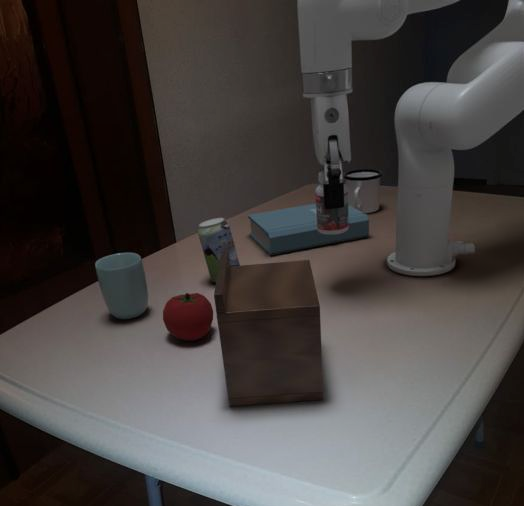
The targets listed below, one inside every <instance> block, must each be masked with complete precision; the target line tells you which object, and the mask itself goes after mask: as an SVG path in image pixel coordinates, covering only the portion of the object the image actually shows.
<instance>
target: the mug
mask: <svg viewBox="0 0 524 506" xmlns="http://www.w3.org/2000/svg"><path fill="white" fill-rule="evenodd" d="M381 177H383V172H382V171H381V170H379V169H373V168H362V169H353V170H349V171H346V172H343V179H345V185H346V186H347V188H348V205H349V206H351V207H353V208H355V209H357V210H359V211H361V212H363V213H364V214H366V215H368V214H372V213H375V212H377V211H378V210H380V191H381V190H380V189H381V188H380V187H381V185H380V184H381Z"/></svg>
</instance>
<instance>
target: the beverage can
mask: <svg viewBox="0 0 524 506" xmlns="http://www.w3.org/2000/svg"><path fill="white" fill-rule="evenodd" d="M197 235H198V239H199V243H200V245H201V249H202V253H203V256H204V259H205V263H206V267H207V269H208V273H209V277H210V280H211V282H213V283H216V280H217V274H218V268H219V262H220V256H221V251H222V250H229V258H230V266H241V265H240V261H239V257H238V252H237V249H236V245H235V241H234V238H233V234H232V230H231V225H230V224H229V222H227V221H226V219H225V218H224V217H215V218H211V219H208V220H205V221H203V222H200V223H199V224H198V231H197Z"/></svg>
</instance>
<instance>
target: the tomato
mask: <svg viewBox="0 0 524 506" xmlns="http://www.w3.org/2000/svg"><path fill="white" fill-rule="evenodd" d="M162 321H163V322H164V327H165V328H166V330H167V331H168V332H169V334H171V335H172V336H174V337H176V338H177V339H180V340H184V341H198V340H200V339H201V340H202V339H203V338H204V337H205V336H206V335H207V334H209V331H210V329H211V327H212V324H213V321H214V309H213V305H212V303H211V302H210V301H209V299H208V298H207V297H206V296H205V295H204V294H201V293H199V292H193V293H189V292H185V294H178V295H174V296H172V297H171V298H170V299H168V300H167V301H166V303H165V305H164V307H163V310H162Z"/></svg>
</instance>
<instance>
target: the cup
mask: <svg viewBox="0 0 524 506" xmlns="http://www.w3.org/2000/svg"><path fill="white" fill-rule="evenodd" d="M94 268H95V273H96V277H97V281H98V285H99V289H100V292H101V296H102V298H103V301H104V304H105V306H106V308H107V310H108V312H109V313H110V314H111V315H112V316H113V317H115V318H117V319H121V320H129V319H134V318H137V317H139V316H141V315H142V314H144V313H145V312H146V311H147V308H148V304H149V291H148V282H147V277H146V272H145V268H144V263H143V259H142V257H141V256H140V254H138V253H136V252H118V253H114V254H113V253H112V254H110V255H106V256H103V257H100V258H98V260H96V261H95V263H94Z"/></svg>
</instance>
